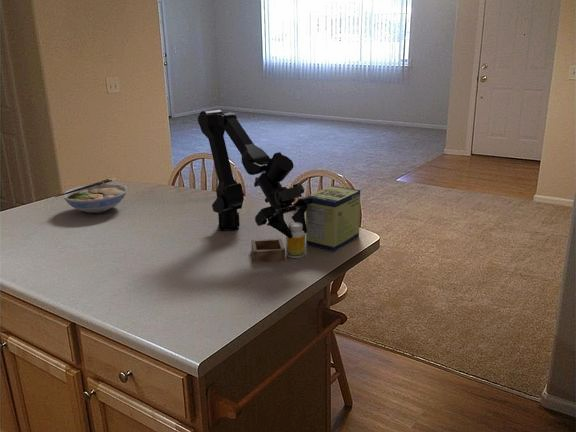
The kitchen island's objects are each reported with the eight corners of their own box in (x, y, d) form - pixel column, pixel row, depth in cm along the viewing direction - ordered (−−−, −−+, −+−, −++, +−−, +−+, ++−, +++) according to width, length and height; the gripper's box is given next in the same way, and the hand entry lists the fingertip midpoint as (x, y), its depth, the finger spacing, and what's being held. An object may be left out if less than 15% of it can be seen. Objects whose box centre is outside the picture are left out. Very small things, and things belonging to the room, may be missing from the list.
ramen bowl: (90, 225, 181) (87, 202, 179) (49, 214, 193) (45, 193, 190) (144, 206, 201) (142, 185, 199) (104, 197, 213) (101, 177, 210)
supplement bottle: (284, 253, 156) (283, 222, 153) (300, 250, 158) (300, 220, 154) (290, 259, 151) (289, 228, 148) (307, 257, 153) (307, 226, 150)
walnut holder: (253, 262, 150) (253, 251, 148) (251, 250, 158) (251, 240, 157) (285, 260, 151) (285, 249, 150) (281, 248, 159) (281, 238, 158)
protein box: (359, 236, 168) (361, 189, 163) (334, 252, 156) (335, 202, 151) (331, 230, 174) (332, 184, 169) (305, 245, 162) (304, 196, 157)
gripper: (259, 181, 144) (287, 229, 139) (309, 169, 155) (336, 213, 151) (243, 202, 152) (269, 248, 148) (292, 190, 164) (316, 232, 159)
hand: (298, 235), depth 151 cm, fingers closed on supplement bottle, 5 cm apart
